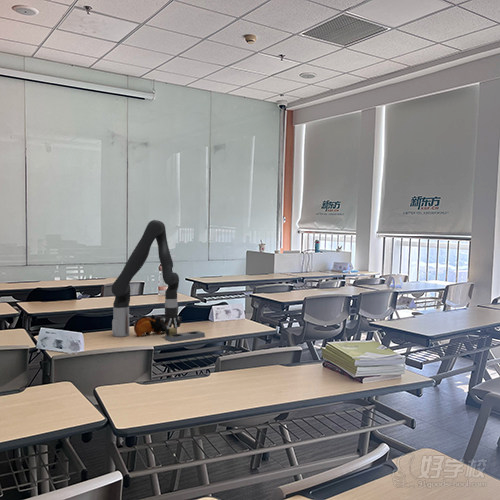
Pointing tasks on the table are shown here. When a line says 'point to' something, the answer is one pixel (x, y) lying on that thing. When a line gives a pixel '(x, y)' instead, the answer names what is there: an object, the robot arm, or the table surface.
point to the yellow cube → (172, 330)
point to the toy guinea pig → (149, 325)
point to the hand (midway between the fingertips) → (171, 334)
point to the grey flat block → (184, 336)
